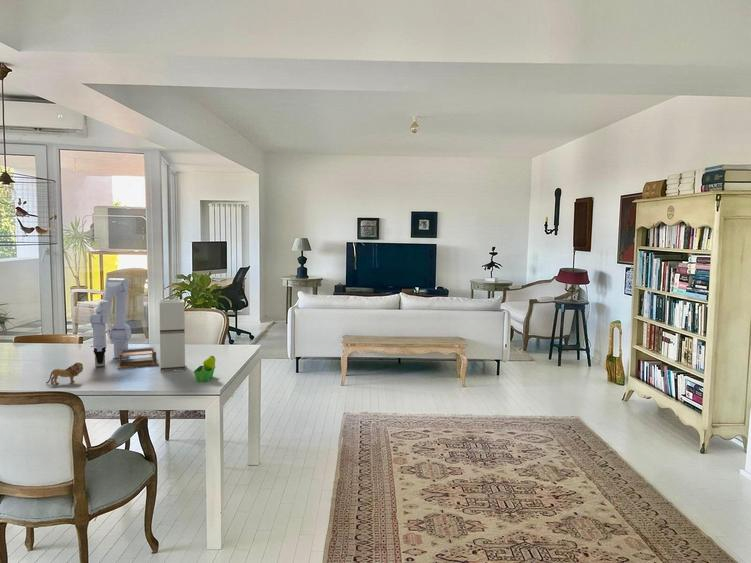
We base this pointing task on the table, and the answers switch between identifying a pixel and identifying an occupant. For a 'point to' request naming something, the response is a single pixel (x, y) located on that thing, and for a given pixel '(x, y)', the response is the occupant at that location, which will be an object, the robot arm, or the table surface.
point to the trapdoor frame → (137, 361)
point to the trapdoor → (137, 351)
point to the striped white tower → (172, 335)
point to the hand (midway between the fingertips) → (100, 362)
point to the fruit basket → (205, 370)
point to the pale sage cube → (100, 364)
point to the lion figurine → (66, 372)
